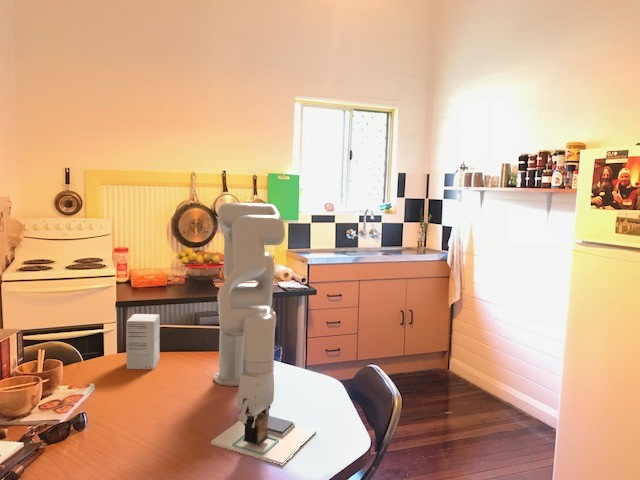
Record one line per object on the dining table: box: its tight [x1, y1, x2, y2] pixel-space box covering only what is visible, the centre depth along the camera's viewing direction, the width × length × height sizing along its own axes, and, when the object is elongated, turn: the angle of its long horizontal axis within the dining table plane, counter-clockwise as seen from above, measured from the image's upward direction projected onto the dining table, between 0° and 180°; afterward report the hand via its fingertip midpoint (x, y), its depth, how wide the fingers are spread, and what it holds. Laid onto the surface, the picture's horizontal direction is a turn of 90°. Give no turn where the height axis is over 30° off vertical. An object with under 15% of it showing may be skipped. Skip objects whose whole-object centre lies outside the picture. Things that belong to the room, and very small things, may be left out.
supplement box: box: [125, 313, 161, 370], centre depth 173 cm, size 10×9×17 cm
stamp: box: [243, 413, 269, 446], centre depth 123 cm, size 4×4×6 cm
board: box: [210, 415, 309, 464], centre depth 127 cm, size 18×20×2 cm
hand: (256, 436), depth 123 cm, fingers closed on stamp, 4 cm apart
